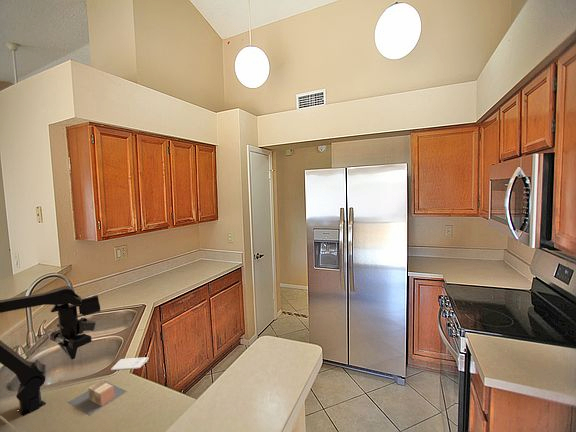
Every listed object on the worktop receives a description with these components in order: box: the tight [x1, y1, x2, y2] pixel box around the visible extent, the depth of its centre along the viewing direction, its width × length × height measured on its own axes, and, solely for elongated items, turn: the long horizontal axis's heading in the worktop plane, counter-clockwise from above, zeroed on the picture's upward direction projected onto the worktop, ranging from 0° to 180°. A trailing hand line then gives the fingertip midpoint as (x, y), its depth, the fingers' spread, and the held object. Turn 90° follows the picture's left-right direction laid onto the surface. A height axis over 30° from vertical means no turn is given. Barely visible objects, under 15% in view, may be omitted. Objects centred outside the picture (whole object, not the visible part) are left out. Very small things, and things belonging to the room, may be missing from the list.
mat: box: [67, 380, 128, 416], centre depth 104 cm, size 15×13×1 cm
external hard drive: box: [110, 356, 149, 371], centre depth 125 cm, size 2×8×12 cm
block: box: [88, 380, 115, 406], centre depth 103 cm, size 4×4×8 cm
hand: (72, 358), depth 108 cm, fingers closed
